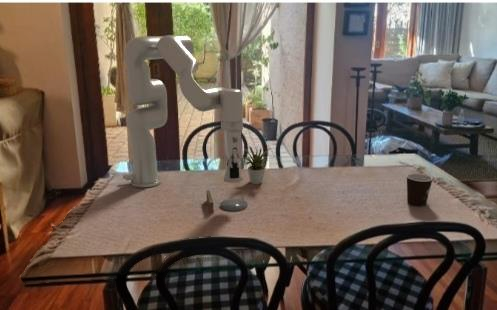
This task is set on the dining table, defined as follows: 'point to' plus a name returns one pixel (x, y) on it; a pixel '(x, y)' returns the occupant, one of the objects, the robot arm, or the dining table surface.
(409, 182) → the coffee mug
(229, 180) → the flask
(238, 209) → the grey flat disc
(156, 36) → the robot arm
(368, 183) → the dining table surface
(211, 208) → the wooden plank
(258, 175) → the house plant
